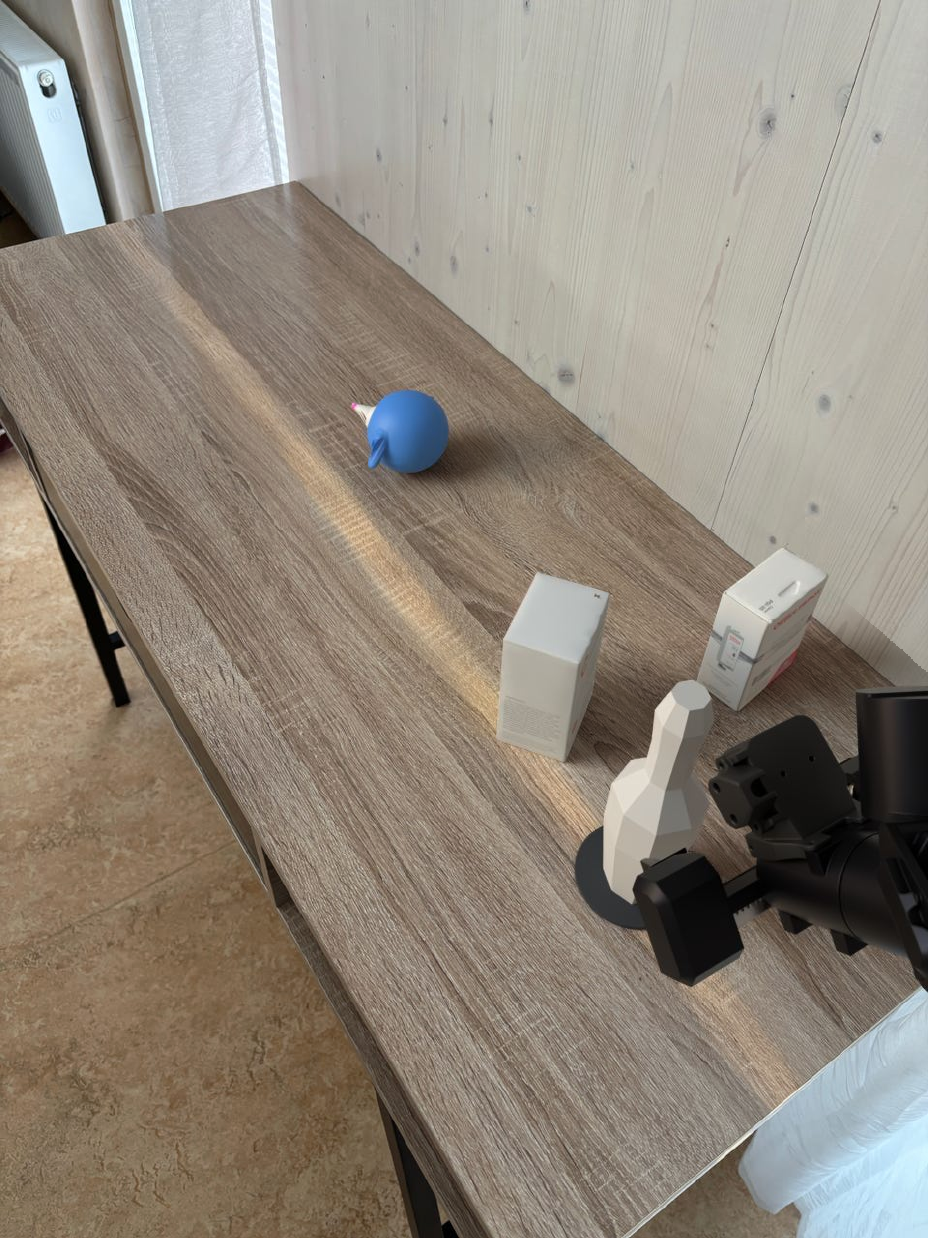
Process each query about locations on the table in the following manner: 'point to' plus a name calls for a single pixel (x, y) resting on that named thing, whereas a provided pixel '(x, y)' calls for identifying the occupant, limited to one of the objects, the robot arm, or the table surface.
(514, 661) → the small box
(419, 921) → the table surface
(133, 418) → the table surface
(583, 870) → the coaster
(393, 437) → the blue mole toy
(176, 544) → the table surface
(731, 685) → the ink box
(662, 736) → the faceted bottle
